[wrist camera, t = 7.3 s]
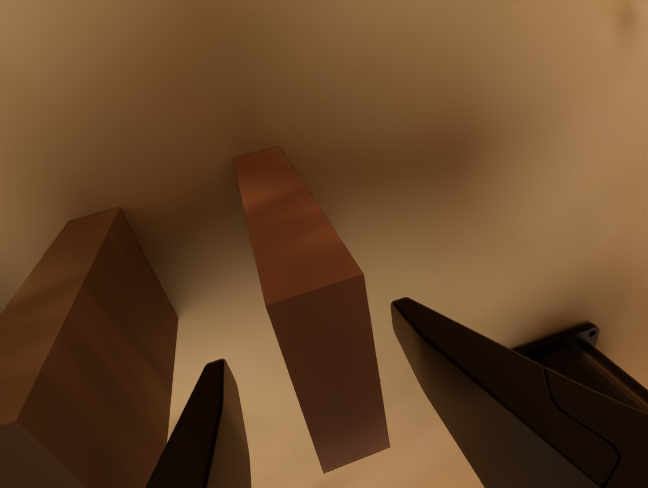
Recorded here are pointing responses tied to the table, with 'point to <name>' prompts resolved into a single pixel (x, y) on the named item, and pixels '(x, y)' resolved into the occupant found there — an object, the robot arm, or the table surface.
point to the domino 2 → (314, 310)
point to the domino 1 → (86, 363)
